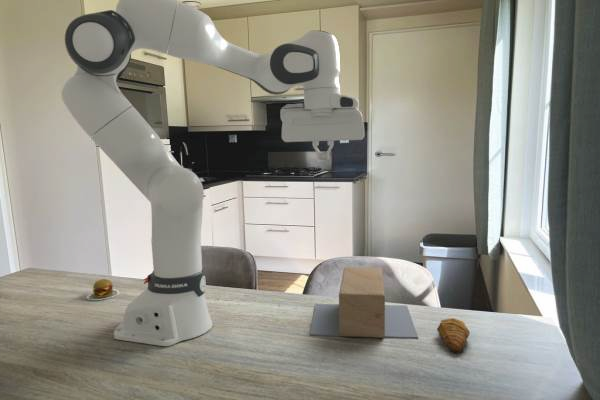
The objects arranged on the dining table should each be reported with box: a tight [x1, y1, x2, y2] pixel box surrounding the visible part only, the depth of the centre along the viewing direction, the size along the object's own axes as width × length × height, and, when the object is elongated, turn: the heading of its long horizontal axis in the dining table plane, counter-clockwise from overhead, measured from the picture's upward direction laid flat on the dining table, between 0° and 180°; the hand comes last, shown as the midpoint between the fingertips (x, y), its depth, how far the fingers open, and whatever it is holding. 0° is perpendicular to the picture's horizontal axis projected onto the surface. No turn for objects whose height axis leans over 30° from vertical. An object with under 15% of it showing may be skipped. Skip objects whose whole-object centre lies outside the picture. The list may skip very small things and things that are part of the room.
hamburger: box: [86, 278, 120, 301], centre depth 124 cm, size 12×12×6 cm
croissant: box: [436, 317, 470, 354], centre depth 90 cm, size 14×7×5 cm, turn 165°
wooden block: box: [338, 266, 386, 339], centre depth 101 cm, size 10×10×20 cm
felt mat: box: [309, 303, 419, 339], centre depth 102 cm, size 24×18×1 cm
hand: (323, 159), depth 103 cm, fingers closed
